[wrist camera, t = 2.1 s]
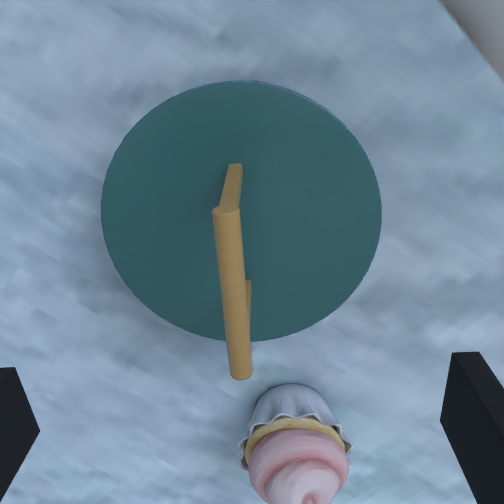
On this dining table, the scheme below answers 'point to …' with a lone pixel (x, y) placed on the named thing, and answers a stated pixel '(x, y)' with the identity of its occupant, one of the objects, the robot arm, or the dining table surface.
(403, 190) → the dining table surface
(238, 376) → the tin lid
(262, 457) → the cupcake
